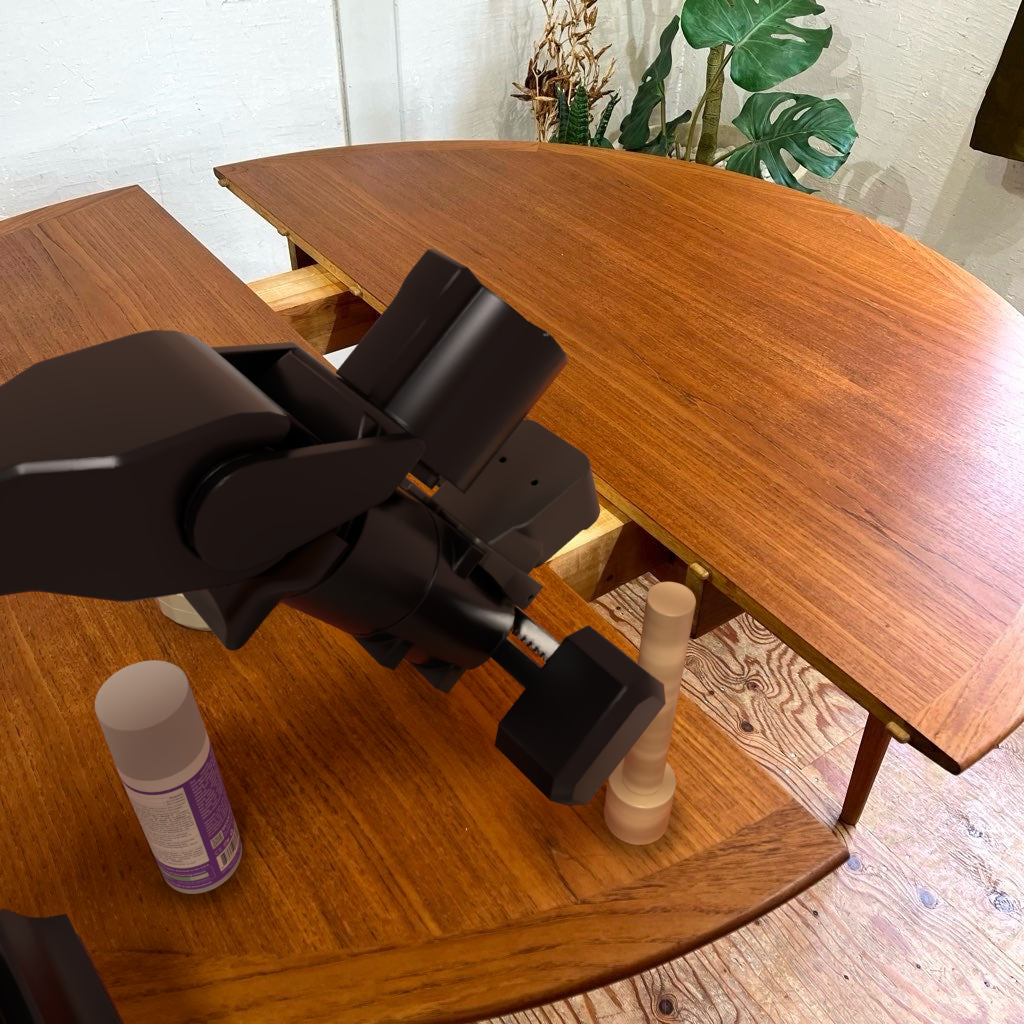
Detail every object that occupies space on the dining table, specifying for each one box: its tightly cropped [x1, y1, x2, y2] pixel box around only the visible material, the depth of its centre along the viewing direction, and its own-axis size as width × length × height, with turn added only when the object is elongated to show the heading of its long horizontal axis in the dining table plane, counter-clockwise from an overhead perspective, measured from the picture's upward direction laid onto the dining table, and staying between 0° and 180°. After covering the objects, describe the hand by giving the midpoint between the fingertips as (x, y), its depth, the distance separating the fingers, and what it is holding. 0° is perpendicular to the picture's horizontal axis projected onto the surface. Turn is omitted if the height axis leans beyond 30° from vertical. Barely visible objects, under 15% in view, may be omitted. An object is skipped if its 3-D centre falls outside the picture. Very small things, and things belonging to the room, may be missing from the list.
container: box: [94, 659, 243, 895], centre depth 52 cm, size 5×5×15 cm
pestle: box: [603, 581, 697, 846], centre depth 53 cm, size 4×4×19 cm
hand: (546, 661), depth 49 cm, fingers open, 9 cm apart
